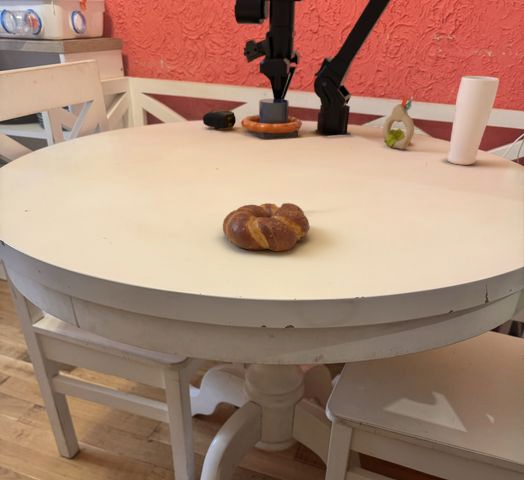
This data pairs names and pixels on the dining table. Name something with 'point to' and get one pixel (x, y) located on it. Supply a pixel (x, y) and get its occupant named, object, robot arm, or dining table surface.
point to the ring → (270, 125)
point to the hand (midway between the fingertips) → (279, 102)
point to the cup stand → (274, 117)
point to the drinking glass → (471, 117)
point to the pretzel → (266, 226)
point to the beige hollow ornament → (397, 137)
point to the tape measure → (219, 119)
